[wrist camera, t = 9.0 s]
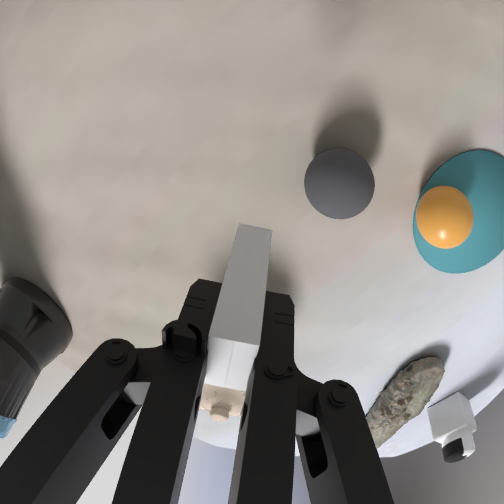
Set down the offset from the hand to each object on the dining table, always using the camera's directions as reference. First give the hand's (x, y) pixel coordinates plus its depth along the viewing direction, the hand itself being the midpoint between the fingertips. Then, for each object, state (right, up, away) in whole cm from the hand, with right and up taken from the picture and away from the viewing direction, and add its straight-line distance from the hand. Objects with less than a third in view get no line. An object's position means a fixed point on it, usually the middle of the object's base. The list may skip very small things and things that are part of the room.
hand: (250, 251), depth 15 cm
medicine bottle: (+37, -29, +31) cm, 56 cm away
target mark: (+22, +4, +11) cm, 25 cm away
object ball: (+17, +3, +9) cm, 19 cm away
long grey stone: (+24, -28, +33) cm, 50 cm away
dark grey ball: (+7, +5, +9) cm, 12 cm away
